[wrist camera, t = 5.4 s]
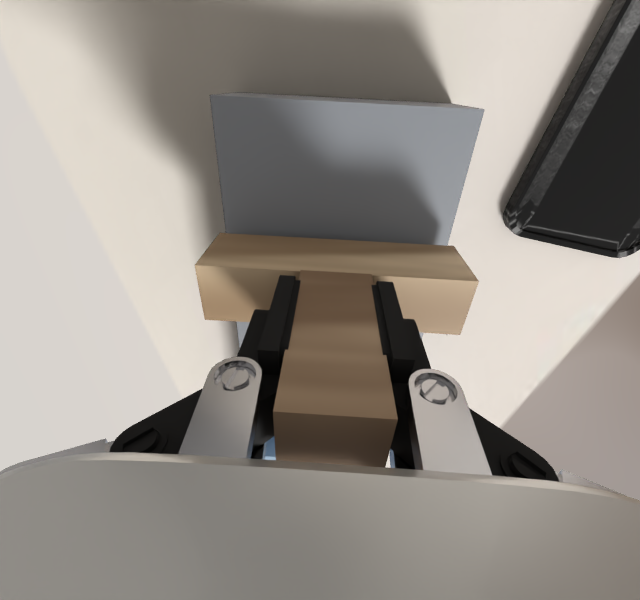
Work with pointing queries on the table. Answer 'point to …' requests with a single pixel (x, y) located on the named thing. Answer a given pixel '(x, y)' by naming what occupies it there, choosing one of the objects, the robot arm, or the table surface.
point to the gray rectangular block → (341, 167)
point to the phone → (590, 151)
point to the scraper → (335, 330)
